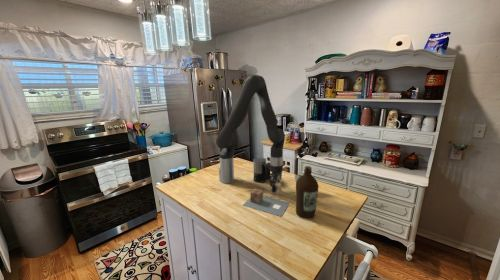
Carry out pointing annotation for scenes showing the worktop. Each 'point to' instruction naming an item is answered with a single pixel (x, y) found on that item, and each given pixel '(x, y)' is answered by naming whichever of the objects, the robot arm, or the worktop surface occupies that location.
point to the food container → (298, 177)
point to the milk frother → (261, 170)
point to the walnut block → (256, 196)
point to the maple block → (277, 189)
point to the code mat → (269, 205)
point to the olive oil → (306, 194)
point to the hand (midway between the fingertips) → (275, 189)
